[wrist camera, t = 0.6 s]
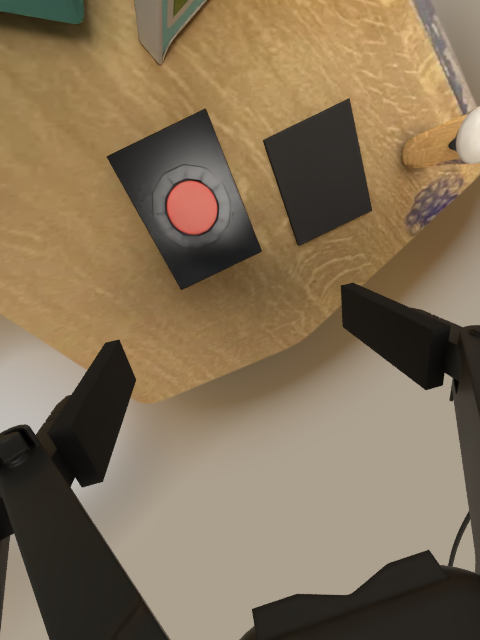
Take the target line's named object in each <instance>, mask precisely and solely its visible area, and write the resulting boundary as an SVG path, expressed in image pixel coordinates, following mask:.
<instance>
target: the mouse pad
mask: <svg viewBox="0 0 480 640" xmlns="http://www.w3.org/2000/svg"><path fill="white" fill-rule="evenodd" d="M263 142H264V145H265V148H266V151H267V154H268V157H269V160H270V163H271V166H272V169H273V172H274V175H275V178H276V181H277V184H278V187H279V190H280V193H281V196H282V199H283V202H284V205H285V208H286V211H287V214H288V217H289V220H290V223H291V226H292V229H293V232H294V235H295V238H296V241H297V244H298V245H302V244H304V243H306V242H308V241H310V240H312V239H314V238H316V237H318V236H320V235H322V234H324V233H327V232H329V231H331V230H333V229H335V228H337V227H339V226H341V225H343V224H345V223H347V222H349V221H352V220H354V219H356V218H358V217H360V216H362V215H364V214H366V213H368V212H370V211H372V207H371V202H370V197H369V192H368V188H367V183H366V178H365V173H364V168H363V163H362V158H361V153H360V148H359V143H358V138H357V133H356V128H355V123H354V118H353V113H352V108H351V104H350V99H347V100H345V101H343V102H341V103H339V104H337V105H335V106H333V107H330V108H328V109H326V110H324V111H322V112H320V113H318V114H316V115H314V116H312V117H310V118H308V119H306V120H304V121H302V122H300V123H297V124H295V125H293V126H291V127H289V128H287V129H285V130H283V131H281V132H279V133H277V134H275V135H273V136H271V137H269V138H267V139H264V140H263Z"/></svg>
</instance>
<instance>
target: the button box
mask: <svg viewBox="0 0 480 640" xmlns="http://www.w3.org/2000/svg"><path fill="white" fill-rule="evenodd" d="M107 158H108V160H109V162H110V164H111V165H112V167H113V169H114V171H115V173H116V174H117V176H118V178H119V180H120V182H121V183H122V185H123V187H124V189H125V190H126V192H127V194H128V196H129V198H130V199H131V201H132V203H133V205H134V207H135V208H136V210H137V212H138V214H139V215H140V217H141V219H142V221H143V223H144V224H145V226H146V228H147V230H148V232H149V233H150V235H151V237H152V239H153V240H154V242H155V244H156V246H157V248H158V249H159V251H160V253H161V255H162V257H163V258H164V260H165V262H166V264H167V265H168V267H169V269H170V271H171V273H172V274H173V276H174V278H175V280H176V282H177V283H178V285H179V287H180V289H181V290H183V289H185V288H187V287H189V286H191V285H193V284H195V283H197V282H200V281H202V280H204V279H206V278H208V277H210V276H212V275H214V274H216V273H218V272H220V271H222V270H224V269H227V268H229V267H231V266H233V265H235V264H237V263H239V262H241V261H243V260H245V259H247V258H249V257H251V256H254V255H256V254H258V253H260V252H262V250H261V248H260V245H259V242H258V240H257V237H256V235H255V232H254V230H253V227H252V225H251V222H250V220H249V217H248V215H247V212H246V210H245V207H244V204H243V202H242V199H241V197H240V194H239V192H238V189H237V187H236V184H235V182H234V179H233V177H232V174H231V171H230V169H229V166H228V164H227V161H226V159H225V156H224V154H223V151H222V149H221V146H220V144H219V141H218V138H217V136H216V133H215V131H214V128H213V126H212V123H211V121H210V118H209V116H208V113H207V111H206V109H203V110H201V111H199V112H197V113H195V114H193V115H191V116H189V117H187V118H185V119H183V120H181V121H179V122H177V123H175V124H172V125H170V126H168V127H166V128H164V129H162V130H160V131H158V132H156V133H154V134H152V135H150V136H148V137H146V138H144V139H142V140H140V141H138V142H136V143H133V144H131V145H129V146H127V147H125V148H123V149H121V150H119V151H117V152H115V153H113V154H111V155H109V156H107ZM184 181H197V182H200V183H202V184H204V185H205V186H207V187H208V188H209V189H210V190H211V192H212V193H213V195H214V197H215V199H216V202H217V217H216V220H215V222H214V224H213V225H212V226H211V227H210V228H209V229H208V230H207V231H205V232H204V233H201V234H196V235H191V234H186V233H184V232H182V231H180V230H179V229H177V228H176V227H175V226H174V225H173V223H172V222H171V220H170V218H169V216H168V213H167V199H168V196H169V194H170V192H171V190H172V189H173V188H174V187H175V186H176V185H178V184H179V183H181V182H184Z"/></svg>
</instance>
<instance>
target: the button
mask: <svg viewBox="0 0 480 640" xmlns="http://www.w3.org/2000/svg"><path fill="white" fill-rule="evenodd" d="M167 213H168V216H169V218H170V220H171V222H172V223H173V225H174V226H175V227H176V228H177V229H179V230H180V231H182V232H184V233H186V234H191V235H196V234H201V233H204V232H205V231H207V230H208V229H209V228H210V227H211V226H212V225H213V224H214V222H215V220H216V217H217V202H216V199H215V197H214V195H213V193H212V192H211V190H210V189H209V188H208V187H207V186H205V185H204V184H202V183H200V182H197V181H184V182H181V183H179V184H178V185H176V186H175V187H174V188H173V189H172V190H171V192H170V194H169V196H168V199H167Z"/></svg>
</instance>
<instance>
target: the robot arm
mask: <svg viewBox="0 0 480 640" xmlns="http://www.w3.org/2000/svg"><path fill="white" fill-rule="evenodd" d="M341 299H342V319H343V320H342V322H343V327H344V328H345V329H346V330H348V331H349V332H350V333H351V334H353V335H354V336H355V337H357V338H358V339H360V340H361V341H362V342H363V343H365V344H366V345H367V346H369V347H370V348H371V349H373V350H374V351H375V352H376V353H378V354H379V355H380V356H382V357H383V358H384V359H386V360H387V361H388V362H390V363H391V364H392V365H394V366H395V367H397V369H399V370H400V371H401V372H403V373H404V374H405V375H407V376H408V377H409V378H411V379H412V380H413V381H414V382H416V383H417V384H419V385H420V386H421V387H422V388H424V389H425V390H428V389H432V388H435V387H439V386H442V385H443V380H444V372H445V373H446V374H448V375H449V376H451V377H452V378H453V381H452V387H451V395H450V401H453V400H454V405H455V412H456V420H457V427H458V433H459V440H460V448H461V455H462V462H463V469H464V476H465V483H466V491H467V498H468V505H469V512H468V514H467V516H466V517H465V519H464V521H463V523H462V525H461V527H460V529H459V532H458V534H457V536H456V539H455V542H454V544H453V548H452V551H451V555H450V559H449V564H448V566H445V565H439V563H438V562H437V560H436V559H435V558H434V556H433V555H432V553H431V552H430V551H429V550H427V551H424V552H421V553H418V554H415V555H412V556H409V557H406V558H403V559H400V560H397V561H394V562H391V563H389V564H387V565H385V566H384V567H383V568H382V569H381V570H379V571H378V572H377V573H376V574H375V575H373V576H372V577H371V578H370V579H369V580H368V581H366V582H365V583H364V584H363V585H362V586H360V587H359V588H358V589H357V590H356V591H354V592H353V593H352V594H349V595H317V594H296V595H292V596H290V597H286V598H284V599H281V600H278V601H275V602H272V603H269V604H266V605H263V606H260V607H257V608H254V609H252V612H253V619H254V627H253V628H251V629H250V630H249V631H248V632H247V633H246V634H245V635H244V636H243V637H242V638H241V639H240V640H480V325H473V326H466V327H461V326H458V325H456V324H454V323H451V322H449V321H447V320H444V319H442V318H439V317H437V316H435V315H431V314H430V313H428V312H426V311H423V310H420V309H415V308H409V307H407V306H405V305H403V304H400V303H398V302H396V301H394V300H391V299H389V298H387V297H384V296H382V295H380V294H378V293H375V292H373V291H371V290H369V289H366V288H364V287H362V286H359V285H357V284H355V283H349V284H345V285H341ZM135 382H136V378H135V376H134V373H133V371H132V369H131V366H130V364H129V362H128V359H127V357H126V354H125V352H124V350H123V347H122V345H121V343H120V340H115V341H111V342H107V343H105V344H104V346H103V347H102V349H101V350H100V352H99V353H98V355H97V356H96V358H95V360H94V361H93V363H92V364H91V366H90V367H89V369H88V370H87V372H86V373H85V375H84V376H83V378H82V380H81V381H80V383H79V384H78V386H77V387H76V389H75V390H74V392H73V393H72V395H69V396H66V397H65V398H64V399H63V400H62V401H61V402H60V403H58V404H57V405H56V407H55V408H54V410H53V411H52V412H51V415H49V417H48V418H47V420H46V422H45V423H44V424H43V426H42V427H41V428H40V430H39V431H38V433H37V434H36V435H35V434H34V432H33V431H32V429H31V428H30V426H28V425H18V426H15V427H12V428H10V429H8V430H5V431H3V432H2V433H0V629H1V619H2V609H3V600H4V589H5V580H6V570H7V560H8V551H9V541H10V535H12V534H15V537H16V540H17V543H18V546H19V549H20V552H21V555H22V558H23V561H24V564H25V567H26V570H27V573H28V576H29V579H30V582H31V585H32V588H33V591H34V594H35V597H36V600H37V603H38V606H39V609H40V612H41V615H42V618H43V621H44V624H45V627H46V630H47V633H48V636H49V639H50V640H170V638H169V637H168V635H167V634H166V632H165V631H164V629H163V628H162V626H161V625H160V623H159V622H158V620H157V619H156V617H155V616H154V614H153V613H152V611H151V610H150V608H149V607H148V605H147V603H146V602H145V600H144V599H143V597H142V596H141V594H140V593H139V592H138V590H137V588H136V587H135V585H134V584H133V582H132V581H131V579H130V577H129V576H128V574H127V573H126V572H125V570H124V568H123V567H122V565H121V564H120V562H119V561H118V559H117V558H116V556H115V555H114V553H113V552H112V550H111V549H110V547H109V545H108V544H107V543H106V541H105V539H104V538H103V536H102V535H101V533H100V532H99V530H98V529H97V527H96V526H95V524H94V523H93V521H92V520H91V518H90V517H89V515H88V513H87V512H86V511H85V509H84V508H83V506H82V504H81V503H80V501H79V500H78V498H77V497H76V495H75V494H74V492H73V491H72V489H71V488H70V487H71V485H72V482H73V480H74V478H76V479H77V481H78V482H79V484H80V485H81V487H86V486H89V485H93V484H96V483H100V482H103V479H104V477H105V474H106V471H107V467H108V464H109V461H110V458H111V455H112V452H113V449H114V446H115V443H116V440H117V437H118V434H119V431H120V428H121V425H122V422H123V418H124V415H125V412H126V409H127V406H128V403H129V400H130V397H131V394H132V391H133V388H134V385H135ZM470 519H471V526H472V534H473V540H474V547H475V559H476V560H475V561H476V564H475V573H474V572H471V571H468V570H464V569H460V568H457V567H452V566H453V562H454V557H455V554H456V551H457V547H458V545H459V542H460V540H461V537H462V535H463V533H464V530H465V528H466V526H467V524H468V523H469V521H470Z"/></svg>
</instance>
